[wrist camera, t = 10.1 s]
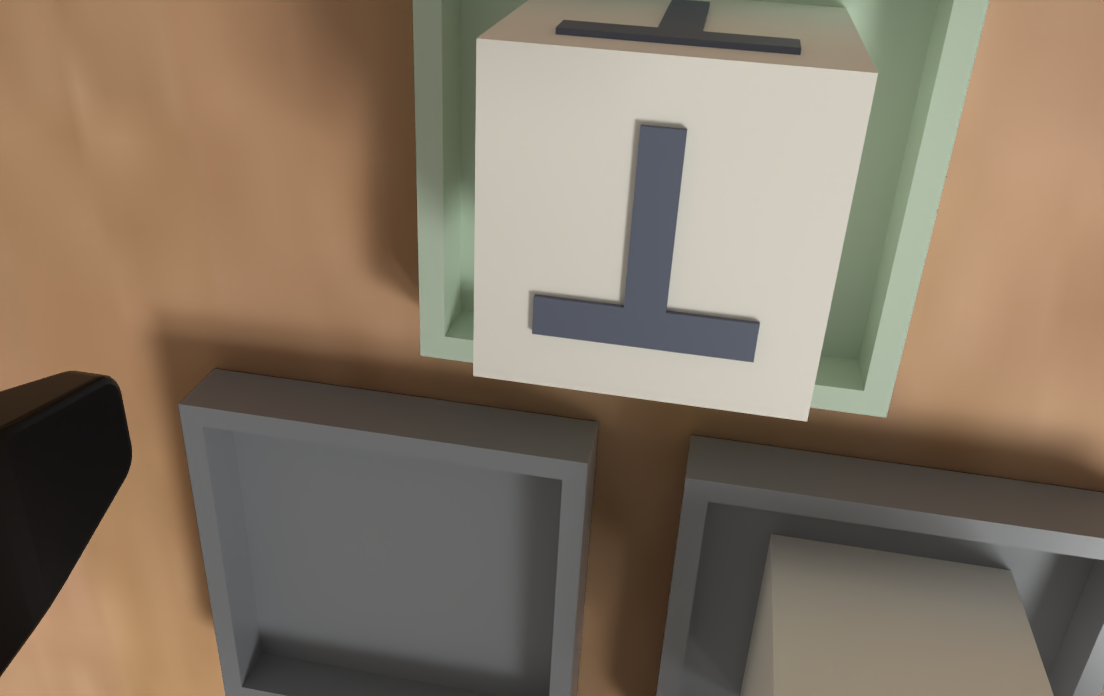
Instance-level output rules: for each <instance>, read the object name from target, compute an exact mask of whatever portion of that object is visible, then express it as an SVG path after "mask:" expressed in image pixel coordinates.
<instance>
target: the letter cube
mask: <svg viewBox="0 0 1104 696" xmlns="http://www.w3.org/2000/svg"><path fill="white" fill-rule="evenodd" d="M877 77H878V72H877V70H876V68H875V66H874V63H873V61H872V59H871V57H870V55H869V53H868V51H867V49H866V47H865V45H864V43H863V41H862V39H861V37H860V35H859V33H858V31H857V29H856V27H855V25H854V23H853V21H852V19H851V17H850V15H849V13H848V11H847V9H846V8H842V7H829V6H816V5H803V4H791V3H778V2H765V1H752V0H528V1H527V2H525V3H524V4H522V5H521V6H520V7H518V8H517V9H516V10H514V11H513V12H512V13H510V14H509V15H508V16H506V17H505V18H503V19H502V20H501V21H499V22H498V23H497V24H495V25H494V26H493V27H491V28H490V29H488V30H487V31H486V32H484V33H483V34H482V35H480V36H479V37H478V38H476V133H475V236H474V340H473V376H477V377H485V378H492V379H499V380H507V381H514V382H521V383H528V384H536V385H543V386H550V387H558V388H565V389H572V390H580V391H587V392H594V393H602V394H609V395H616V396H624V397H631V398H638V399H645V400H653V401H660V402H667V403H675V404H682V405H689V406H697V407H704V408H711V409H719V410H726V411H733V412H741V413H748V414H755V415H762V416H770V417H777V418H784V419H792V420H799V421H806V422H807V420H808V415H809V410H810V405H811V400H812V395H813V390H814V385H815V380H816V376H817V371H818V366H819V361H820V356H821V351H822V346H823V341H824V336H825V332H826V327H827V322H828V317H829V312H830V307H831V302H832V297H833V292H834V287H835V283H836V278H837V273H838V268H839V263H840V258H841V253H842V248H843V243H844V238H845V234H846V229H847V224H848V219H849V214H850V209H851V204H852V199H853V194H854V190H855V185H856V180H857V175H858V170H859V165H860V160H861V155H862V150H863V145H864V141H865V136H866V131H867V126H868V121H869V116H870V111H871V106H872V101H873V96H874V92H875V87H876V82H877Z"/></svg>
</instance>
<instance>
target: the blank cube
mask: <svg viewBox="0 0 1104 696" xmlns="http://www.w3.org/2000/svg"><path fill="white" fill-rule="evenodd" d="M740 696H1054V695H1053V692H1052V689H1051V686H1050V683H1049V680H1048V677H1047V674H1046V671H1045V668H1044V665H1043V662H1042V660H1041V657H1040V654H1039V651H1038V648H1037V645H1036V642H1035V639H1034V636H1033V633H1032V630H1031V627H1030V624H1029V621H1028V619H1027V616H1026V613H1025V610H1024V607H1023V604H1022V601H1021V598H1020V595H1019V592H1018V589H1017V586H1016V583H1015V580H1014V577H1013V575H1012V572H1011V570H1005V569H998V568H992V567H985V566H979V565H972V564H965V563H959V562H952V561H946V560H939V559H932V558H926V557H919V556H913V555H906V554H899V553H893V552H886V551H880V550H873V549H866V548H860V547H853V546H847V545H840V544H834V543H827V542H820V541H814V540H807V539H801V538H794V537H787V536H781V535H774V534H771V537H770V543H769V548H768V553H767V558H766V563H765V568H764V574H763V579H762V584H761V589H760V594H759V600H758V605H757V610H756V615H755V620H754V625H753V631H752V636H751V641H750V646H749V651H748V656H747V662H746V667H745V672H744V677H743V682H742V687H741V693H740Z"/></svg>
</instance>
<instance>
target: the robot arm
mask: <svg viewBox="0 0 1104 696" xmlns="http://www.w3.org/2000/svg"><path fill="white" fill-rule="evenodd" d="M131 460H132V446H131V441H130V436H129V431H128V425H127V420H126V415H125V410H124V405H123V400H122V395H121V391H120V387H119V386H118V384H117V382H116V381H115V380H114V379H112V378H111V377H110V376H107V375H101V374H94V373H87V372H80V371H66V372H62V373H59V374H56V375H53V376H49V377H46V378H43V379H40V380H36V381H33V382H30V383H27V384H23V385H20V386H17V387H14V388H10V389H7V390H4V391H1V392H0V677H1V675H2V674H3V673H4V671H5V670H6V668H7V667H8V666H9V664H10V663H11V661H12V660H13V659H14V657H15V656H16V655H17V653H18V652H19V650H20V649H21V648H22V646H23V645H24V644H25V642H26V641H27V639H28V638H29V637H30V635H31V634H32V632H33V631H34V630H35V628H36V627H37V625H38V624H39V622H40V621H41V620H42V618H43V617H44V615H45V614H46V612H47V611H48V609H49V608H50V606H51V605H52V603H53V601H54V600H55V598H56V597H57V595H58V593H59V592H60V590H61V589H62V587H63V585H64V584H65V582H66V580H67V579H68V577H69V575H70V573H71V572H72V570H73V568H74V566H75V565H76V563H77V561H78V559H79V558H80V556H81V554H82V553H83V551H84V549H85V547H86V546H87V544H88V542H89V540H90V539H91V537H92V535H93V534H94V532H95V530H96V528H97V527H98V525H99V523H100V521H101V520H102V518H103V516H104V514H105V513H106V511H107V509H108V508H109V506H110V504H111V502H112V501H113V499H114V497H115V495H116V494H117V492H118V490H119V489H120V487H121V485H122V483H123V482H124V480H125V478H126V476H127V474H128V471H129V469H130V465H131Z"/></svg>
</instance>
